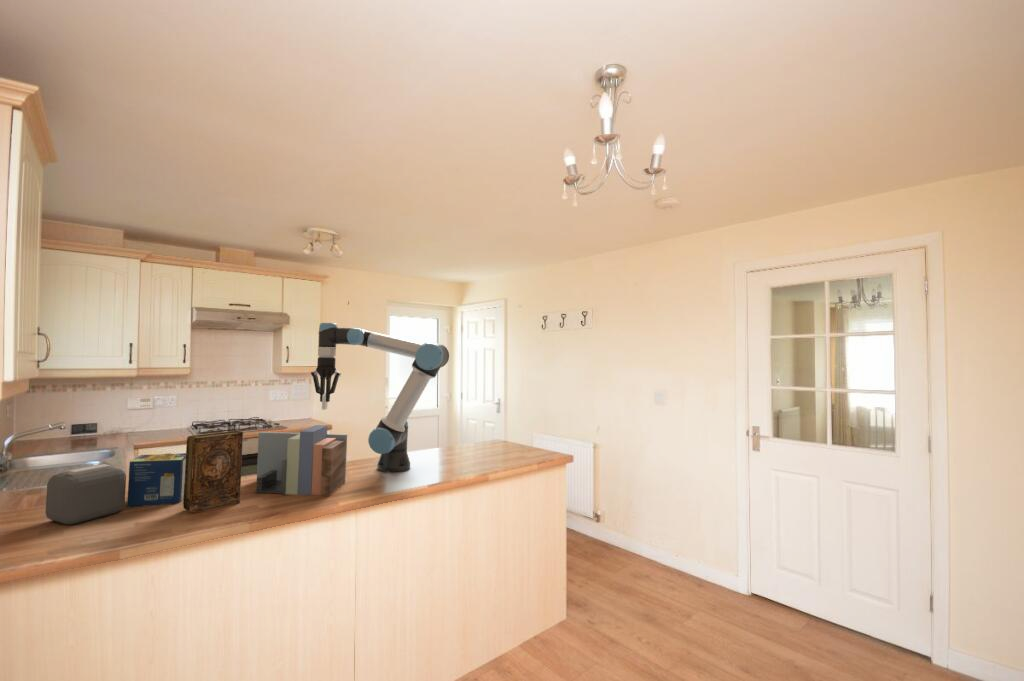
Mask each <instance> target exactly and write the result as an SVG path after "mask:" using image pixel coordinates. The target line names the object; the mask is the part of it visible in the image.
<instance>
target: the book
mask: <svg viewBox="0 0 1024 681" xmlns="http://www.w3.org/2000/svg"><path fill="white" fill-rule="evenodd" d="M243 437H244V432H243V431H241V430H230V431H223V432H222V431H221V432H213V433H206V434H205V433H204V434H195V435H188V436H187V437H186V438H187V439H186V447H185V448H186V449H185V453H186V464H185V482H184V499H183V500H182V501H183V503H182V505H183V507H182V508H183V510H188V512H189V513H190V514H196V513H200V512H206V511H211V510H214V509H219V508H223V507H228V506H232V505H236V504H237V505H238V504H240V503H241V484H242V483H241V482H242V464H243V462H242V461H243V460H242V459H243V445H244V444H243V443H244V440H243V439H244V438H243Z"/></svg>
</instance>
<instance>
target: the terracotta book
mask: <svg viewBox="0 0 1024 681" xmlns="http://www.w3.org/2000/svg"><path fill="white" fill-rule="evenodd" d="M334 441H336V438H325V439H323V440H321V441H319V442H317V443H316V444H314V445H313V463H312V486H311V496H312V495H313V496H314V495H317V496H319V495H320V493H321V469H322V448H324V447H326V446H327V445H329V444H331V443H333V442H334Z"/></svg>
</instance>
